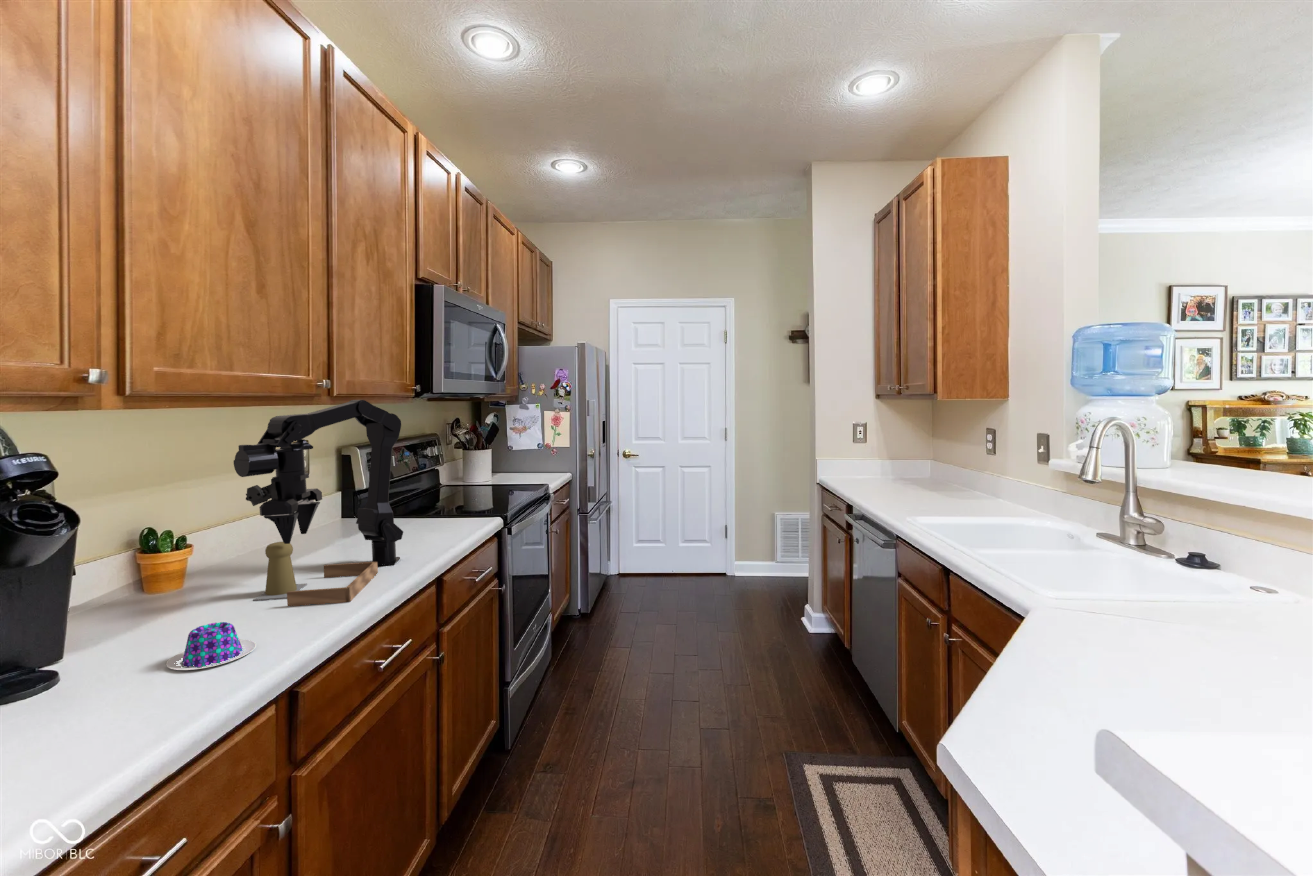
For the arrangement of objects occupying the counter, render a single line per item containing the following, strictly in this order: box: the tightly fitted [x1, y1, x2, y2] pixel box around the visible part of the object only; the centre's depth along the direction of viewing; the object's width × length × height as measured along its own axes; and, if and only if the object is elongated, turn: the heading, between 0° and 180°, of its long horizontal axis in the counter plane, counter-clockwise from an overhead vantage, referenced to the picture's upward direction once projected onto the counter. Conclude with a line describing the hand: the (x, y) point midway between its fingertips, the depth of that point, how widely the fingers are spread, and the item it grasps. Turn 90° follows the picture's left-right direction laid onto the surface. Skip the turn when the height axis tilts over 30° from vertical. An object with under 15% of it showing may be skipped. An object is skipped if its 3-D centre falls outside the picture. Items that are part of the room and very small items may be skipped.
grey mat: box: [252, 583, 308, 602], centre depth 132 cm, size 10×7×1 cm
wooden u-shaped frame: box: [286, 561, 379, 607], centre depth 134 cm, size 22×12×3 cm, turn 11°
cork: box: [264, 541, 297, 595], centre depth 132 cm, size 6×6×11 cm
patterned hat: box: [165, 621, 257, 671], centre depth 98 cm, size 12×12×5 cm
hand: (295, 538), depth 134 cm, fingers open, 9 cm apart
